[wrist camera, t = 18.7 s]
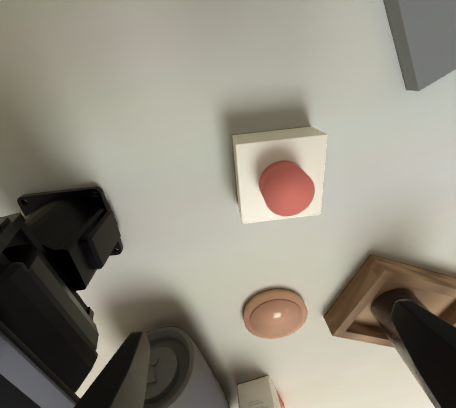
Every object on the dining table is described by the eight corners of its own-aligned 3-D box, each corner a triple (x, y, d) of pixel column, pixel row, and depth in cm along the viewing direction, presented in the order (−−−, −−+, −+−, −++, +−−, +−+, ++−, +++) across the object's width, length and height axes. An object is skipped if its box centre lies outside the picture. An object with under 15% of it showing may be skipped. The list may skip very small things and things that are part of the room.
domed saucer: (245, 335, 29) (246, 343, 28) (241, 293, 26) (242, 300, 25) (303, 328, 29) (306, 336, 28) (306, 285, 26) (309, 292, 25)
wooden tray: (323, 317, 29) (332, 335, 27) (370, 254, 25) (385, 270, 23) (415, 336, 31) (429, 354, 29) (470, 282, 27) (491, 298, 25)
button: (259, 205, 18) (265, 219, 16) (258, 163, 16) (263, 173, 15) (303, 200, 18) (313, 213, 16) (305, 157, 17) (316, 167, 15)
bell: (362, 304, 27) (486, 491, 15) (403, 281, 25) (575, 465, 13) (382, 324, 29) (506, 504, 17) (421, 303, 27) (586, 482, 15)
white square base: (238, 205, 21) (242, 223, 19) (232, 135, 18) (235, 144, 16) (308, 197, 21) (322, 214, 19) (312, 126, 19) (329, 134, 16)
